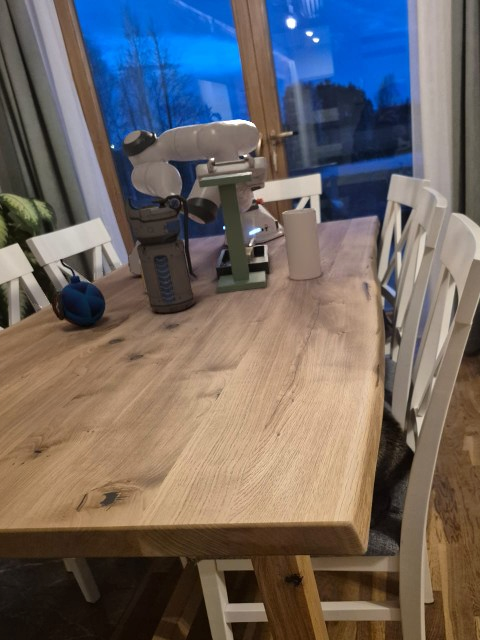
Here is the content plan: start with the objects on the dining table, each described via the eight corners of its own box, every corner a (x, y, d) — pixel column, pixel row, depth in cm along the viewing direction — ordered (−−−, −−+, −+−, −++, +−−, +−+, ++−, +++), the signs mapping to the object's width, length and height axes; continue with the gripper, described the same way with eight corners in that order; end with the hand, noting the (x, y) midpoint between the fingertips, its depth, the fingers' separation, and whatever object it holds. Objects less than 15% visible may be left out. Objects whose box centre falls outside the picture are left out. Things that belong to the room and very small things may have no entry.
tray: (223, 260, 179) (221, 250, 177) (268, 255, 179) (267, 244, 177) (217, 280, 155) (215, 268, 154) (269, 273, 155) (267, 261, 154)
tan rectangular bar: (247, 248, 179) (245, 235, 177) (260, 246, 179) (258, 233, 177) (237, 270, 160) (235, 256, 158) (251, 268, 159) (249, 254, 157)
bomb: (54, 328, 130) (34, 261, 123) (101, 315, 135) (84, 250, 129) (67, 336, 122) (46, 266, 116) (116, 322, 128) (99, 254, 122)
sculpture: (145, 283, 186) (177, 264, 186) (138, 286, 169) (173, 265, 169) (125, 252, 183) (158, 233, 183) (116, 251, 166) (152, 231, 166)
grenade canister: (205, 309, 130) (183, 192, 119) (146, 317, 129) (119, 200, 118) (205, 297, 139) (185, 188, 129) (150, 306, 138) (125, 196, 128)
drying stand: (220, 281, 153) (203, 177, 142) (265, 276, 153) (251, 171, 142) (217, 293, 142) (198, 181, 131) (266, 287, 142) (250, 174, 131)
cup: (284, 280, 147) (276, 214, 140) (297, 272, 153) (289, 209, 147) (315, 279, 143) (308, 212, 137) (326, 271, 150) (320, 207, 143)
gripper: (198, 175, 172) (189, 151, 158) (267, 166, 172) (264, 142, 158) (201, 195, 171) (192, 173, 157) (269, 187, 171) (266, 164, 158)
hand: (228, 157), depth 158 cm, fingers open, 8 cm apart
